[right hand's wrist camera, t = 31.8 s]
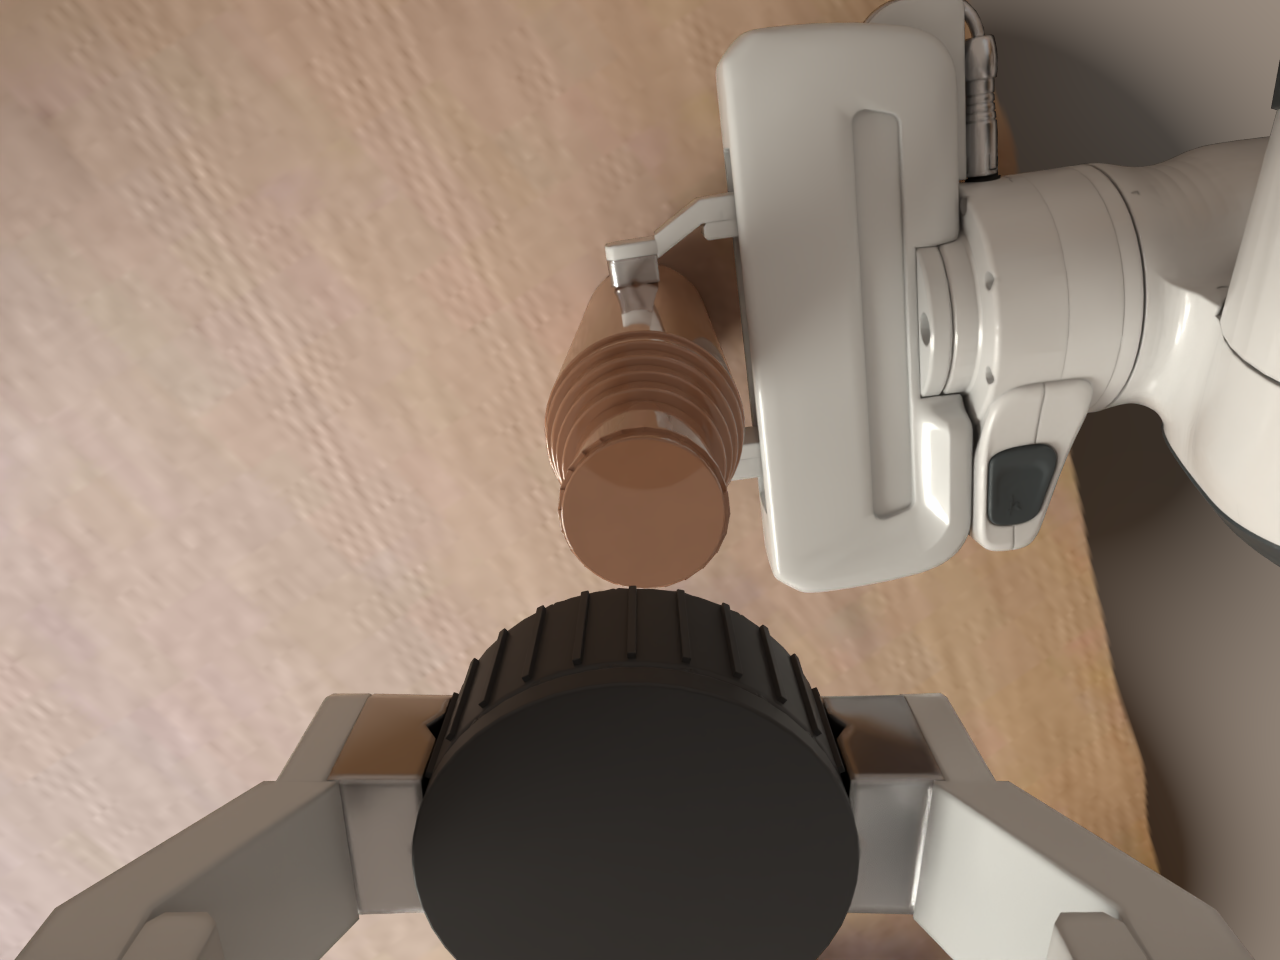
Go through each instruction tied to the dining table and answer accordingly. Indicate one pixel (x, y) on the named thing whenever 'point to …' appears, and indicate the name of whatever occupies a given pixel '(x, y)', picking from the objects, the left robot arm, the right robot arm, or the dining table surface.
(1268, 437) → the left robot arm
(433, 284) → the dining table surface
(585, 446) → the bottle
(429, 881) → the cap
